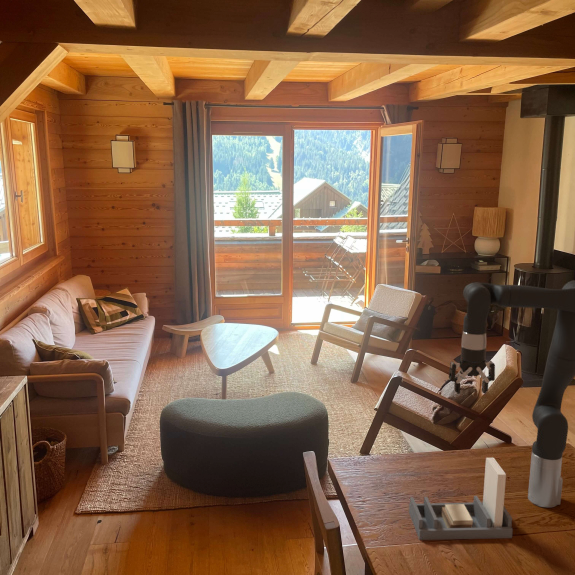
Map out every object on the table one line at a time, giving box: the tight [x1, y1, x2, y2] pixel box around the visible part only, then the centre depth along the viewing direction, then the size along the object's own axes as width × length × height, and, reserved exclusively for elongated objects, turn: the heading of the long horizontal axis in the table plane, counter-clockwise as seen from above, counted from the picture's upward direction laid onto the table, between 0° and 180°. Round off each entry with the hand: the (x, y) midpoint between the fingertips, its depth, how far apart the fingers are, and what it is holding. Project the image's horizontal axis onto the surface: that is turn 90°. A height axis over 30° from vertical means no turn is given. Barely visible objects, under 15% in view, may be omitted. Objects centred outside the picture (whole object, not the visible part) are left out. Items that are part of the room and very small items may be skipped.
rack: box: [408, 495, 513, 541], centre depth 179 cm, size 28×14×7 cm, turn 91°
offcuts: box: [441, 504, 473, 528], centre depth 179 cm, size 7×10×4 cm
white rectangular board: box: [482, 457, 507, 527], centre depth 178 cm, size 2×10×20 cm, turn 1°
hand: (470, 392), depth 188 cm, fingers open, 8 cm apart
